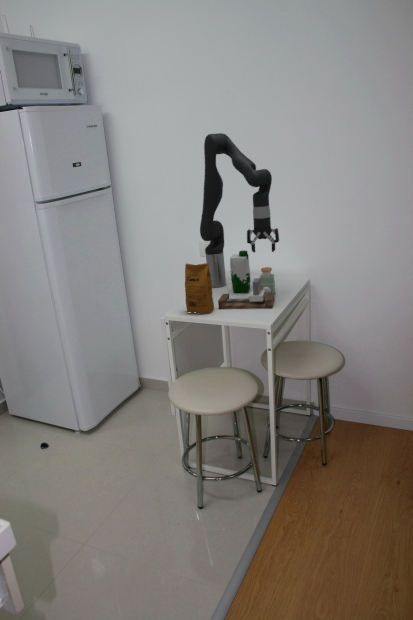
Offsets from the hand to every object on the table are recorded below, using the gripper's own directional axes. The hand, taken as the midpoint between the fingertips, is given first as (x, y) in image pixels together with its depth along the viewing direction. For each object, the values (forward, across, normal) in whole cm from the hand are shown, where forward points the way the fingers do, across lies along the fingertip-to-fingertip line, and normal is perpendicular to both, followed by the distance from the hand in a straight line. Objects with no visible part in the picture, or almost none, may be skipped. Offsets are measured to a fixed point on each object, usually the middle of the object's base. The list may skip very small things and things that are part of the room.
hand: (263, 251), depth 227 cm
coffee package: (+22, -27, -19) cm, 39 cm away
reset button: (+12, +1, +1) cm, 12 cm away
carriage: (+19, -2, -11) cm, 22 cm away
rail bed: (+22, -7, -11) cm, 25 cm away
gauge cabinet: (+22, +1, +1) cm, 22 cm away
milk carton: (+22, -13, +10) cm, 28 cm away
